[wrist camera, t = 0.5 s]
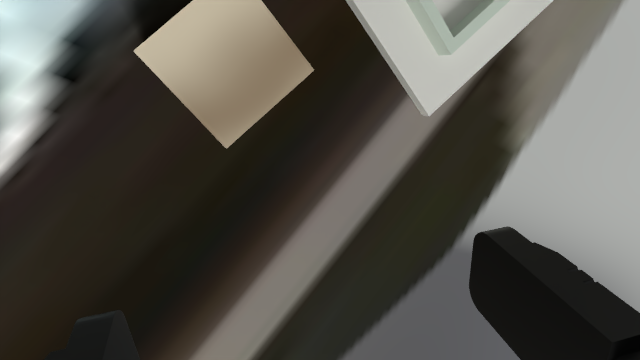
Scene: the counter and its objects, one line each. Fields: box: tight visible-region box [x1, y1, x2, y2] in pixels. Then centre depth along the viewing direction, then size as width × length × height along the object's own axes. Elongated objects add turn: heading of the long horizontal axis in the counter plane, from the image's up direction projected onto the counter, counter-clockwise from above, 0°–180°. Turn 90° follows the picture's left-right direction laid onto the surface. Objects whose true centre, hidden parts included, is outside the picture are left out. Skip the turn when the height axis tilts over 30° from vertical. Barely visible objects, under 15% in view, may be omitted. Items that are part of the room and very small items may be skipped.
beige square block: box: [134, 0, 314, 149], centre depth 21 cm, size 5×5×12 cm
